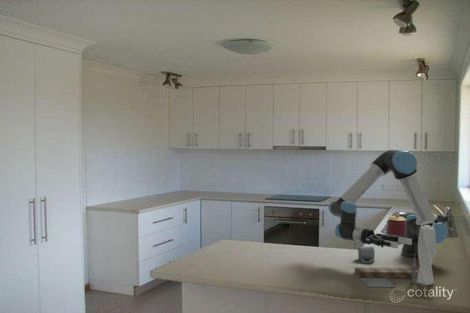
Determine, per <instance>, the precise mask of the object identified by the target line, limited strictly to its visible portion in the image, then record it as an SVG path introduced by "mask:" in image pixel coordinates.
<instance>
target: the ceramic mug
mask: <svg viewBox="0 0 470 313" xmlns="http://www.w3.org/2000/svg"><path fill="white" fill-rule="evenodd" d="M357 253H358V254H357V255H358V256H357V257H358V260H360V261H361V262H362V263H363V264H372V262H375V247H374V246H359V247H358V250H357Z"/></svg>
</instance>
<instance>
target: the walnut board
mask: <svg viewBox="0 0 470 313" xmlns="http://www.w3.org/2000/svg"><path fill="white" fill-rule="evenodd" d="M412 271H413V267H354V274H355V275H356V276H358V278H385V279H388V278H389V279H391V278H392V279H412ZM418 272H419V267H416V278H415V279H417V276H418Z"/></svg>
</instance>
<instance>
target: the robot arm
mask: <svg viewBox="0 0 470 313" xmlns="http://www.w3.org/2000/svg"><path fill="white" fill-rule="evenodd" d="M417 165H418V159H417V157H416V155H415V154H414V153H412V152H411V151H408V150H405V149H404V150H403V149H402V150H399V149H398V150H397V149H389V150H386V151H384V152H382V153H381V154H380V155H379V156H377V157H376V158H375V159H374V161H372V162H371V163H370V167H368V169H367V170H366V171H364V173H363V174H362V175H361V176H360V177H359V178H358V179H356V181H355V182H354V183H352V185H351V186H350V187H349V188H348V189H347V190H346V191H345V192H343V194H342V195H341V196H340V197H339V198H338V199H337V200H336V201H331V202H330V203H329V204H328V206H327V207H328V211H329V213H330V214H331V215H333V216H334V217H335V216H336V217H338V218H340V220H339V221H340V222H339V223H338V224H336V225H335V229H334V233H335V234H334V235H335V236H336V238H338V239H343V240H346V241H350V242H351V241H352V242H357V244H360V243H362V244H365V245H375V246H378V247H380V248H384V247H386V248H392V249H399V243H400V244H402V245H403V246H402V248H401V252H400V253H401V255H402V256H405V257H409V258H413V259H414V255H415V259H419V257H418V238H419V232H420V227H421V225H422V224H423V223H425V222H434V223H435V224H434V223H425V224H424V225H429V226H431V227H432V226H433V224H434V227H433V228H435V238H436V245H437V244H438V245H439V244H441V243H443V242H444V241H445V240H446V239H447V236H448V232H449V231H448V227H447V225H446V223H445V224H444V223H443V222H441V221H440V219H439V217H438V214H436V213H434V212H433V210H432V208H431V207H430V206H431V205H430V204H429V201H428V199H427V197H426V195H425V193H424V190H423V188H422V186H421V184H420V181H419V179H418V177H417V175H416V174H417V173H418V169H417V167H418V166H417ZM390 172H392V174H393V176H394V178H395V179H396V180H397V181H399V183H400V184H401V186H402V188H403V191H404V193H405V195H406V198H407V200H408V202H409V205H410V208H411V209H412V210H413V213H414V214H408V215H406V218H405V219H406V233H405V238H404V237H400V236H399V235H398V236H397V235H387V234H386V233H375V231H374V230H373V229H372V228H371V229H370V228H365V227H360V226H356V218H357V217H356V215H357V204H356V202H357V201H358V200H359V199H360V198H361V197H362V196H363V195H364V194H365V193H366V192H367V191H368V190H369V189H370V188H371V187H372V186H373V185H374V184H375V183H376V182H377V181H378V180H379V179H380V178H381V177H385V176H386V175H387V174H388V173H390ZM424 225H423V227H424ZM393 241H395V242H393Z"/></svg>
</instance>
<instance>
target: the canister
mask: <svg viewBox="0 0 470 313" xmlns="http://www.w3.org/2000/svg"><path fill="white" fill-rule="evenodd" d="M387 219H388V220H387V221H386V223H387V224H386V232H385V234H387V235H397V236H398V235H399V236H400V237H404V238H405V233H406V218H405V217H404V216H401V215H400V214H399V213H395V215H391V216H389V217H387ZM393 242H395V241H393Z"/></svg>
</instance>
